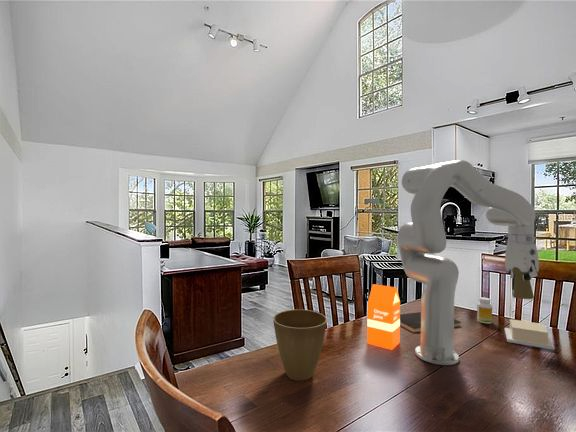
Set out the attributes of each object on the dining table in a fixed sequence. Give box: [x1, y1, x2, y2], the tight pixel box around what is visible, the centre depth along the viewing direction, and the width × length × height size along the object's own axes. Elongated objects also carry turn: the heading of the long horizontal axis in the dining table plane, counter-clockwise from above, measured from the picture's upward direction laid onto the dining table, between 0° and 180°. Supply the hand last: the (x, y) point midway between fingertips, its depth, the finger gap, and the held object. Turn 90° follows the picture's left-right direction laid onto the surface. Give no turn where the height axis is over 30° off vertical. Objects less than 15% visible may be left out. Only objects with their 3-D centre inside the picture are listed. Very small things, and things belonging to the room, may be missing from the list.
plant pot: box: [272, 309, 328, 382], centre depth 91 cm, size 15×15×16 cm
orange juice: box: [366, 283, 401, 351], centre depth 113 cm, size 8×9×20 cm
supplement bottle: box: [476, 296, 493, 325], centre depth 136 cm, size 5×5×10 cm
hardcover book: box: [400, 311, 462, 333], centre depth 135 cm, size 16×23×2 cm
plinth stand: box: [504, 319, 555, 351], centre depth 118 cm, size 13×13×5 cm
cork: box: [512, 267, 535, 300], centre depth 116 cm, size 6×6×11 cm
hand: (520, 290), depth 117 cm, fingers closed on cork
